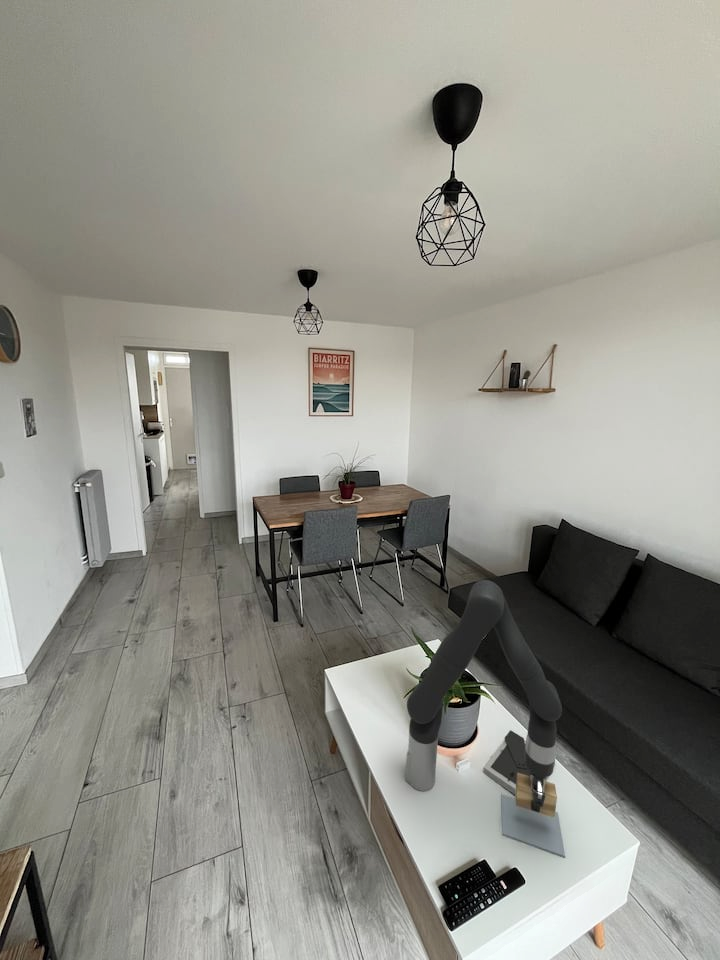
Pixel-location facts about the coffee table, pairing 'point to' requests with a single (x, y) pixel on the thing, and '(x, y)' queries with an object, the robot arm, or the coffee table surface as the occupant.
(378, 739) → the coffee table surface
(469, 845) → the coffee table surface
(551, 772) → the robot arm
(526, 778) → the oak card box
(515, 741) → the picture frame
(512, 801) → the slate mat
